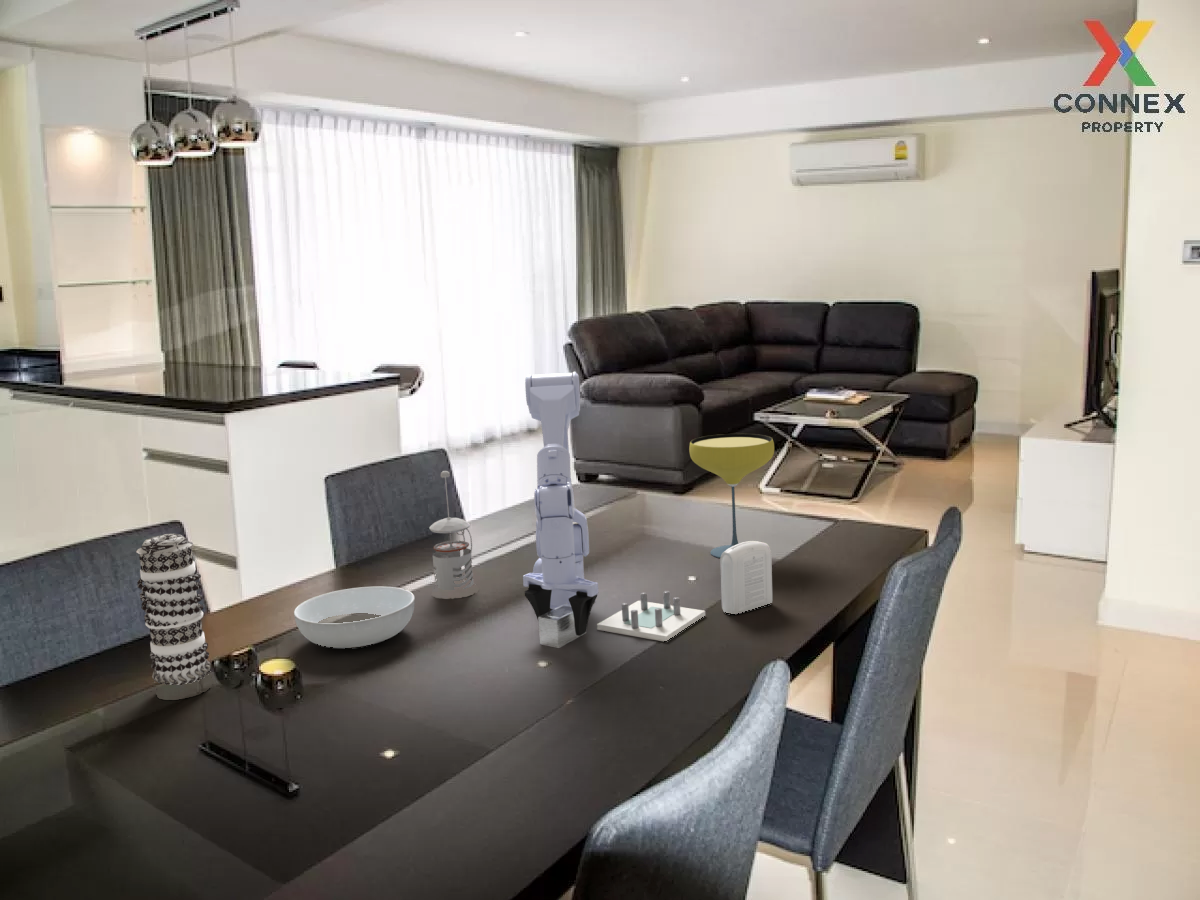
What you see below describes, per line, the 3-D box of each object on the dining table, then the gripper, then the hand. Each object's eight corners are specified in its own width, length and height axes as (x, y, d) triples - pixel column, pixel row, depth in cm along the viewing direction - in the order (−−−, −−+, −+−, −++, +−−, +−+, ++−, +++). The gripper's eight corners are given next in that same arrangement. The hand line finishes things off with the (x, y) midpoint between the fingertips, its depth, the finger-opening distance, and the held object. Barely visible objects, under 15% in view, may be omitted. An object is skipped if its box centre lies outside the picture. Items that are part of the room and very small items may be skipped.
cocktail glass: (789, 546, 218) (786, 434, 213) (756, 568, 203) (753, 449, 198) (715, 538, 227) (711, 432, 223) (679, 559, 212) (674, 445, 208)
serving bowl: (440, 625, 179) (437, 589, 178) (368, 668, 161) (364, 628, 160) (349, 615, 188) (346, 580, 187) (271, 654, 170) (267, 616, 168)
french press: (421, 597, 196) (410, 475, 192) (451, 580, 207) (441, 463, 203) (464, 601, 192) (453, 476, 188) (492, 583, 203) (482, 464, 199)
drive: (540, 644, 167) (538, 616, 166) (568, 629, 173) (566, 602, 173) (558, 648, 165) (556, 620, 164) (586, 633, 171) (584, 605, 170)
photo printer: (760, 599, 183) (758, 535, 181) (776, 604, 180) (774, 539, 178) (718, 611, 178) (715, 545, 176) (733, 617, 174) (731, 550, 172)
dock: (597, 629, 172) (596, 607, 172) (638, 605, 184) (637, 585, 183) (666, 641, 165) (665, 619, 164) (705, 616, 176) (704, 594, 175)
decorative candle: (154, 707, 150) (132, 549, 146) (151, 686, 158) (129, 536, 154) (218, 693, 154) (198, 538, 150) (211, 673, 162) (192, 527, 158)
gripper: (509, 555, 167) (515, 631, 170) (579, 565, 159) (584, 644, 162) (534, 545, 173) (540, 618, 175) (603, 553, 165) (607, 630, 167)
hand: (563, 630), depth 169 cm, fingers open, 7 cm apart
